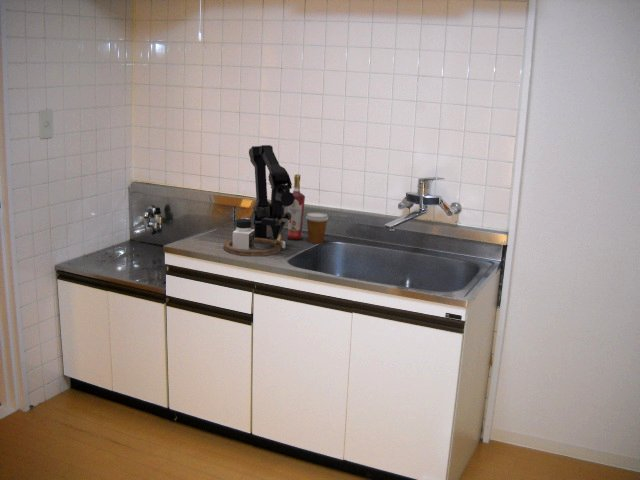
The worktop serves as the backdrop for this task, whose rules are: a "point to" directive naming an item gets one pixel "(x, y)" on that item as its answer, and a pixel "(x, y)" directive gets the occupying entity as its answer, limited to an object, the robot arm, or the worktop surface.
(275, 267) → the worktop surface
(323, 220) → the disposable coffee cup
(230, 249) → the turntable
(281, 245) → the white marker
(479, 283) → the worktop surface
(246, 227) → the medicine bottle
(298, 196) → the liquor
